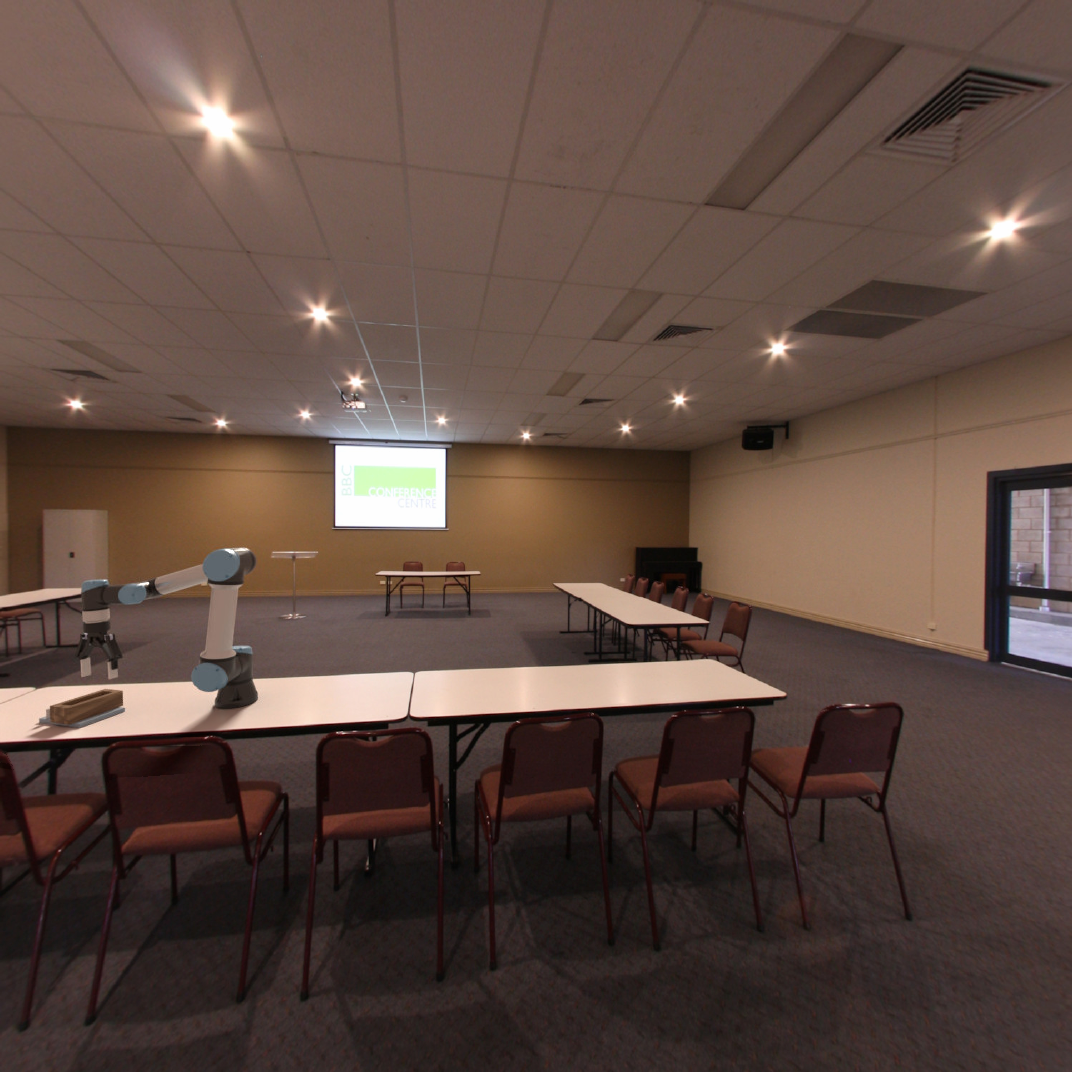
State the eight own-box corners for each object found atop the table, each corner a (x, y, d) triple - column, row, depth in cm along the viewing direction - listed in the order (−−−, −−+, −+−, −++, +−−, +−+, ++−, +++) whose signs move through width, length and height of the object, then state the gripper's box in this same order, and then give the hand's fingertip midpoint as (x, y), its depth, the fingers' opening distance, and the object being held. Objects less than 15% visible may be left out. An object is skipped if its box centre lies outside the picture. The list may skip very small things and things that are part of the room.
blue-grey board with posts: (124, 711, 183) (124, 698, 183) (79, 727, 169) (79, 714, 168) (86, 706, 188) (85, 694, 188) (39, 722, 173) (38, 709, 173)
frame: (123, 705, 185) (122, 690, 185) (68, 724, 168) (68, 708, 168) (105, 703, 187) (105, 688, 187) (50, 722, 170) (49, 706, 170)
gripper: (132, 619, 176) (135, 675, 177) (83, 618, 182) (86, 671, 183) (110, 624, 169) (113, 682, 169) (60, 622, 175) (63, 678, 175)
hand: (99, 677), depth 176 cm, fingers open, 13 cm apart
